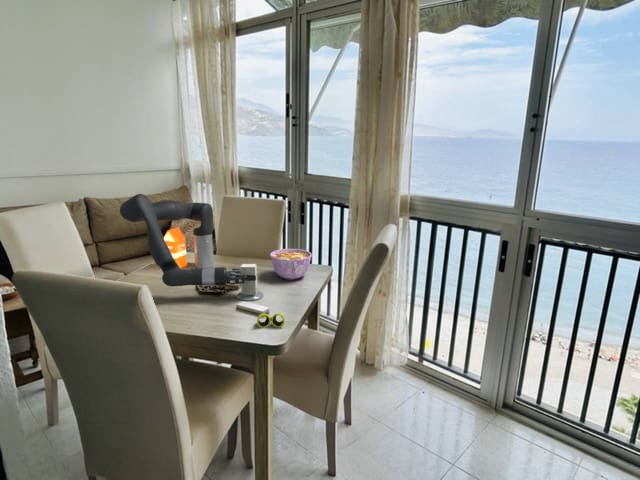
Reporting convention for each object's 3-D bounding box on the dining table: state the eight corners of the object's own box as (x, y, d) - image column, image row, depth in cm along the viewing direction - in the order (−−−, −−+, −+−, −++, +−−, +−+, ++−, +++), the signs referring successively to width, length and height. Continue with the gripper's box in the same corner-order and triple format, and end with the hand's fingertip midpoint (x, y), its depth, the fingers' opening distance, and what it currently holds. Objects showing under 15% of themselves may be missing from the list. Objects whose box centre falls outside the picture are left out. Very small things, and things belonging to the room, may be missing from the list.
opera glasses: (284, 324, 145) (284, 310, 145) (284, 328, 140) (284, 314, 140) (257, 325, 144) (257, 311, 144) (257, 328, 139) (256, 314, 139)
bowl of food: (306, 285, 181) (306, 261, 179) (264, 281, 185) (264, 258, 182) (315, 272, 200) (315, 250, 198) (277, 269, 204) (277, 247, 201)
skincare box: (257, 291, 169) (257, 263, 167) (255, 294, 165) (255, 266, 162) (243, 290, 170) (242, 263, 167) (240, 294, 165) (240, 266, 162)
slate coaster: (242, 290, 174) (242, 289, 174) (266, 292, 172) (266, 291, 172) (232, 300, 163) (232, 298, 163) (258, 302, 162) (258, 300, 162)
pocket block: (222, 281, 185) (222, 277, 184) (245, 283, 183) (245, 279, 182) (214, 288, 176) (214, 283, 176) (238, 290, 174) (237, 285, 174)
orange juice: (163, 268, 202) (160, 230, 197) (174, 263, 210) (172, 226, 205) (176, 269, 199) (174, 231, 195) (187, 264, 208) (184, 227, 203)
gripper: (212, 273, 156) (255, 272, 158) (216, 262, 169) (256, 262, 172) (212, 291, 158) (255, 290, 160) (216, 279, 171) (256, 278, 174)
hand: (255, 275), depth 166 cm, fingers closed on skincare box, 5 cm apart
